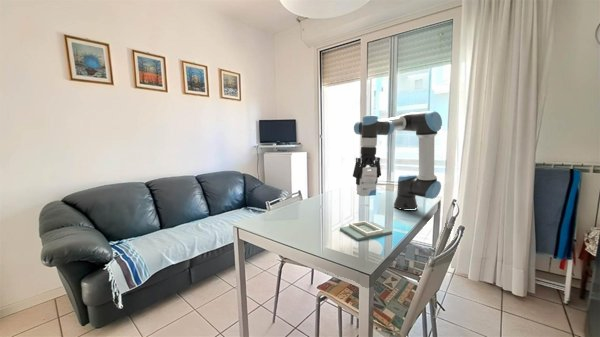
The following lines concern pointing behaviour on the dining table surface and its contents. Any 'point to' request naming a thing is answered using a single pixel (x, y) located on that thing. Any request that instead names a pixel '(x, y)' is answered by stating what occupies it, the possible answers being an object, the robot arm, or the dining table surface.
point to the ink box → (368, 182)
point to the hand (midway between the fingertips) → (366, 190)
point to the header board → (365, 230)
